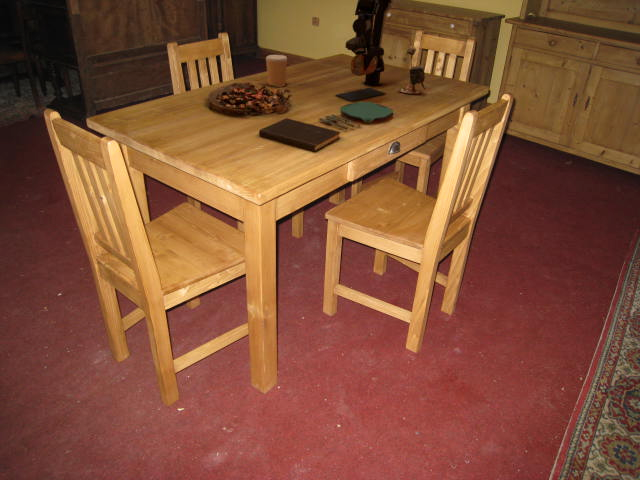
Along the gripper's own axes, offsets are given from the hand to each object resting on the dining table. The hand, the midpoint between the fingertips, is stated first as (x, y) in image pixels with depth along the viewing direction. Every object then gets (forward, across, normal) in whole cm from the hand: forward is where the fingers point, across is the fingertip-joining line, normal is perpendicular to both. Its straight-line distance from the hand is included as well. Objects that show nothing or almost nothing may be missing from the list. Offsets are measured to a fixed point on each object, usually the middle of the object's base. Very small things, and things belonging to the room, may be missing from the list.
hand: (362, 69), depth 217 cm
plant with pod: (+11, +8, +23) cm, 27 cm away
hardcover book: (+11, +29, -51) cm, 60 cm away
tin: (+2, 0, 0) cm, 2 cm away
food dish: (+11, -12, -48) cm, 51 cm away
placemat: (+11, 0, 0) cm, 11 cm away
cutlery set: (+11, +23, -20) cm, 33 cm away
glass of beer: (+11, -31, -24) cm, 41 cm away
